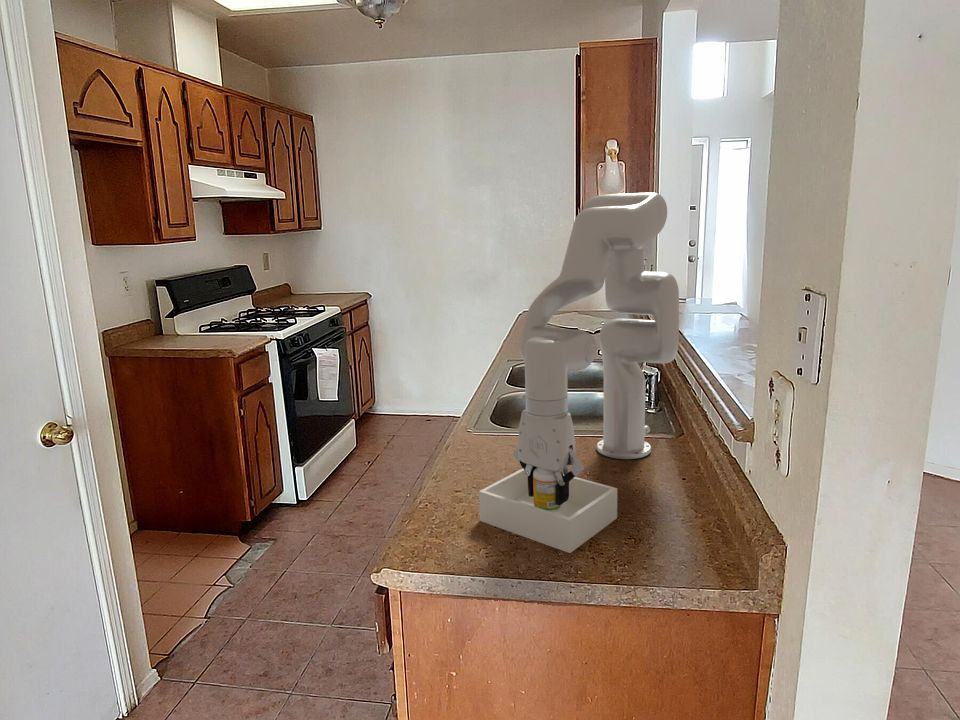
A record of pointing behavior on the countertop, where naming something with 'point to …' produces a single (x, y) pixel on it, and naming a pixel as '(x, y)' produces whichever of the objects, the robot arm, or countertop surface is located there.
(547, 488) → the supplement bottle
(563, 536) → the tote
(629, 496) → the countertop surface
